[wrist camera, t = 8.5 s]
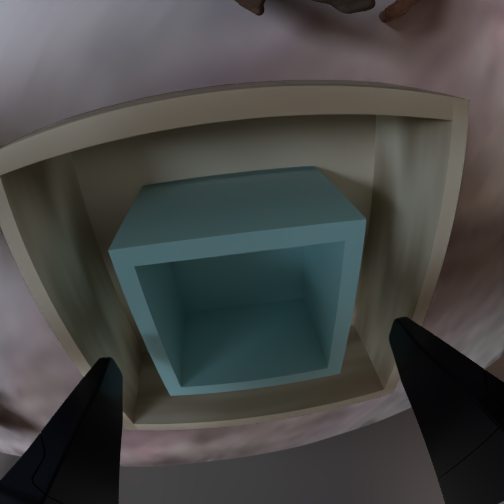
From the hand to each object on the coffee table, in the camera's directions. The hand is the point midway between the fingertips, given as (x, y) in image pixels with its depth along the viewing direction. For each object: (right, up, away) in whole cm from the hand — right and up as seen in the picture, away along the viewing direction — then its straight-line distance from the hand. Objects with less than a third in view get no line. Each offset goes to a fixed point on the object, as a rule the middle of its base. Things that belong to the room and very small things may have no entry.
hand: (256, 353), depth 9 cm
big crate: (-1, +3, +6) cm, 7 cm away
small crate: (-1, +3, +5) cm, 6 cm away
